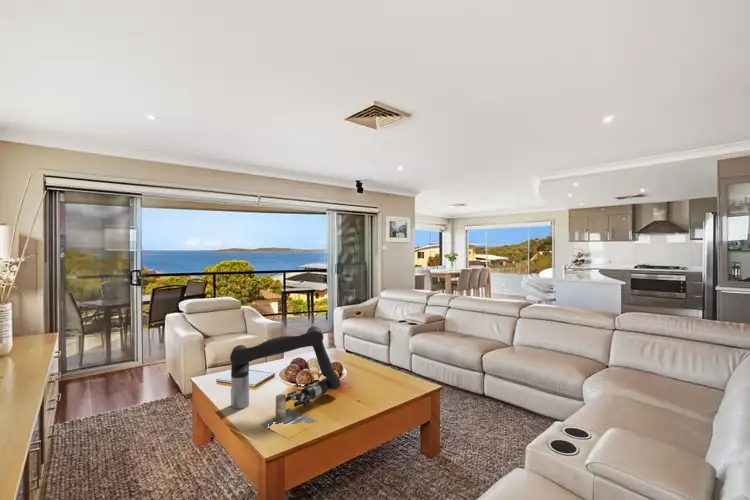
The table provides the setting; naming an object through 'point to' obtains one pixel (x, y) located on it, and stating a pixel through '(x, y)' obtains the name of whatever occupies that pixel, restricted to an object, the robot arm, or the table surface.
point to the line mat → (289, 419)
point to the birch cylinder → (280, 407)
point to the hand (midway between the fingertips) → (289, 402)
